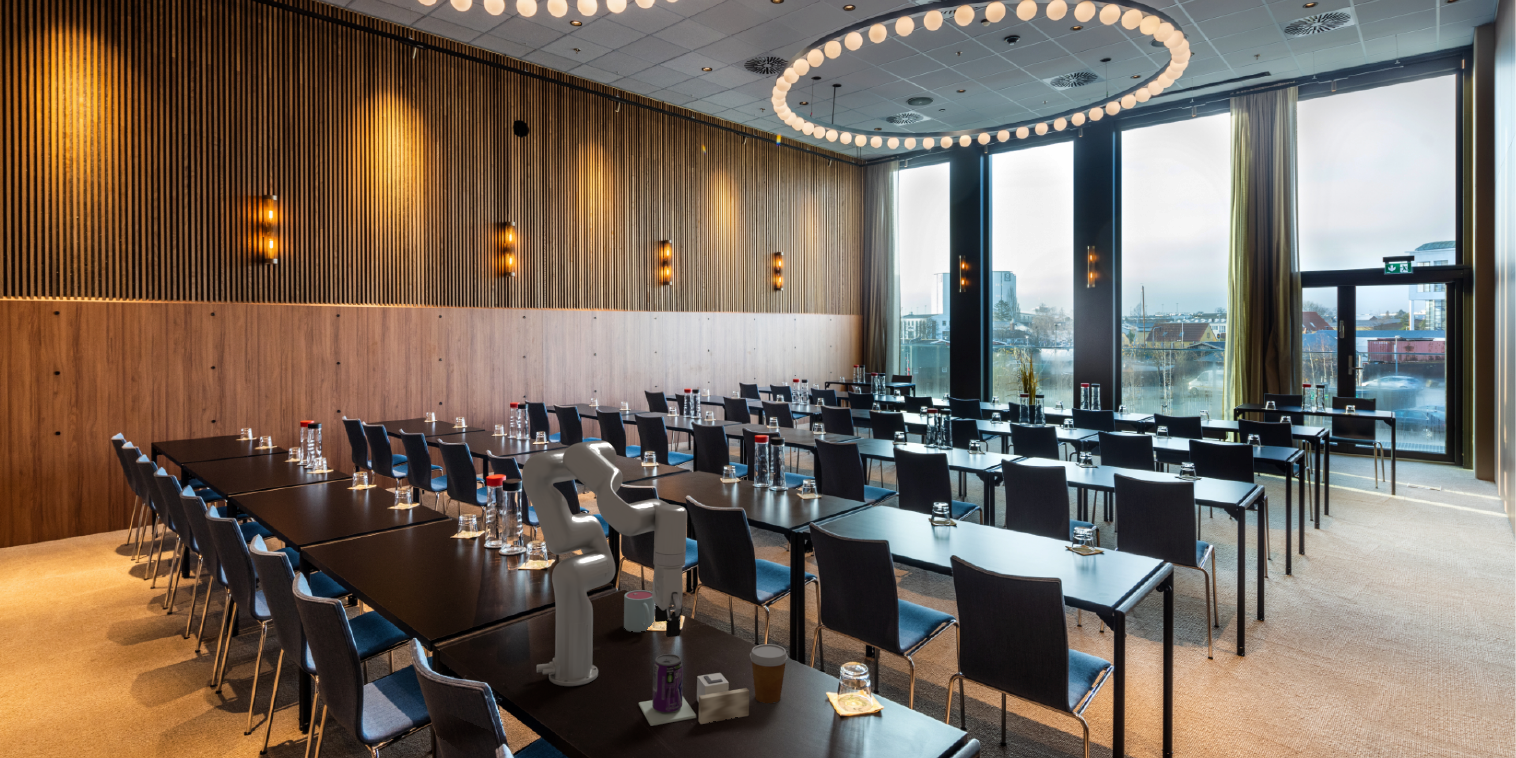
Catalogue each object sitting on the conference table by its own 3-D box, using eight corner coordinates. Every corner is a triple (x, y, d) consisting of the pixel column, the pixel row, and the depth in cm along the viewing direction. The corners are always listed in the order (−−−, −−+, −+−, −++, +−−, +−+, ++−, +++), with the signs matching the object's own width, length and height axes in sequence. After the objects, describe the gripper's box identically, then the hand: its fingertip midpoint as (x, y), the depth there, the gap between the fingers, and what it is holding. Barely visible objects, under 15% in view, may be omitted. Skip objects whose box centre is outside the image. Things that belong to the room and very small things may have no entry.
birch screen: (700, 724, 177) (701, 698, 177) (698, 721, 179) (699, 695, 178) (748, 715, 182) (749, 690, 182) (746, 712, 183) (746, 687, 183)
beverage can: (676, 716, 179) (677, 666, 179) (648, 713, 180) (649, 663, 180) (685, 703, 186) (686, 654, 185) (658, 699, 187) (658, 651, 187)
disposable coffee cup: (774, 710, 185) (775, 661, 184) (741, 700, 190) (742, 652, 189) (793, 695, 193) (795, 648, 192) (761, 686, 198) (762, 640, 197)
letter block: (704, 710, 184) (705, 685, 183) (696, 700, 189) (697, 675, 189) (728, 706, 186) (728, 681, 186) (719, 696, 191) (720, 671, 191)
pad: (650, 725, 176) (650, 723, 176) (638, 704, 186) (638, 702, 186) (696, 717, 180) (696, 715, 180) (682, 697, 190) (682, 695, 190)
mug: (620, 623, 240) (621, 592, 239) (649, 619, 244) (649, 588, 243) (632, 639, 227) (633, 605, 227) (662, 634, 231) (663, 602, 231)
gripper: (644, 549, 188) (642, 617, 189) (664, 570, 172) (661, 644, 173) (674, 547, 191) (671, 614, 192) (696, 567, 175) (693, 640, 176)
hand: (666, 628), depth 182 cm, fingers open, 9 cm apart
